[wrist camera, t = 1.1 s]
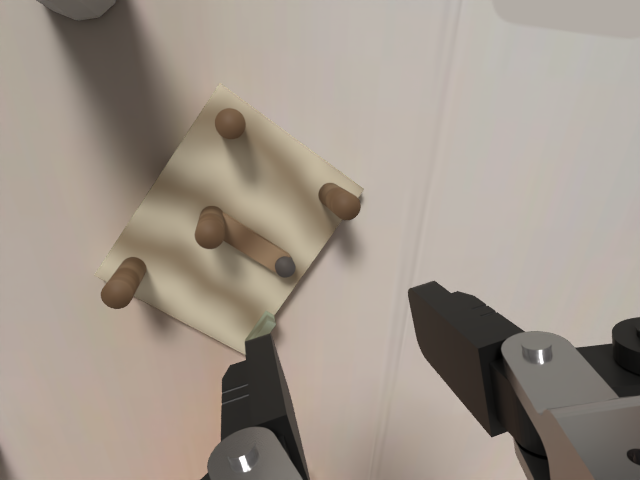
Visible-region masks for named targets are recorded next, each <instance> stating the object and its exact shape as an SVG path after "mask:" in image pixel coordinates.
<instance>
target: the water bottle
mask: <svg viewBox="0 0 640 480" xmlns="http://www.w3.org/2000/svg"><path fill="white" fill-rule="evenodd" d="M37 1H38V2H40V3H41V4H43V5H44V6H46V7H48V8H49V9H51V10H52V11H54V12H56V13H59V14H62V15H64V16H67V17H69V18H72V19H74V20H77V21H78V20H85V19H92V18H99V17H100V16H101V15H103V14H104V13H105V12H106V11H107V10H108V9H109V8H110V7H111V6H113V5H114V4H115V1H116V0H37Z"/></svg>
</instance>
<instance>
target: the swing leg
mask: <svg viewBox="0 0 640 480" xmlns="http://www.w3.org/2000/svg"><path fill="white" fill-rule="evenodd" d="M195 240H196V242H197V243H198V245H200V246H201V247H203V248H205V249H214V248H217V247H218V246H220V245H221V244H222V242H223V241H225V242H226V243H228V244H230V245H231V246H233V247H234V248H236V249H238V250H239V251H241V252H243V253H244V254H246V255H248V256H249V257H251V258H252V259H254V260H256V261H257V262H259V263H261V264H262V265H264V266H266V267H267V268H269V269H270V270H272V271H274V272H275V273H277V274H278V275H279V276H281V277H283V278H287V277H290V276H292V275H293V274H294V272H295V269H296V266H295V263H294V261H293V259H292V257H291V256H290V254H289V253H288V252H286V251H284V250H283V249H281V248H280V247H278V246H277V245H275V244H273V243H272V242H270V241H269V240H267V239H266V238H264V237H262V236H261V235H259V234H258V233H256V232H254V231H253V230H251V229H250V228H248V227H247V226H245V225H243V224H242V223H240V222H239V221H237V220H236V219H234V218H232V217H231V216H229V215H228V214H226V213H224V212H223V211H222V210H221V209H220V208H218V207H216V206H208V207H206V208H204V209H203V210H202V211H201V213H200V216H199V220H198V223H197V227H196V230H195Z"/></svg>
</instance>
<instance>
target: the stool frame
mask: <svg viewBox="0 0 640 480" xmlns="http://www.w3.org/2000/svg"><path fill="white" fill-rule="evenodd" d="M363 190H364V189H363V188H362V187H360V186H359V185H358V184H356V183H355V182H354V181H352V180H351V179H350V178H348V177H347V176H346V175H344V174H343V173H341V172H340V171H339V170H337V169H336V168H335V167H333V166H332V165H331V164H329V163H328V162H327V161H325V160H324V159H322V158H321V157H320V156H318V155H317V154H316V153H314V152H313V151H312V150H310V149H309V148H308V147H306V146H305V145H303V144H302V143H301V142H299V141H298V140H297V139H295V138H294V137H293V136H291V135H290V134H288V133H287V132H286V131H284V130H283V129H282V128H280V127H279V126H278V125H276V124H275V123H274V122H272V121H271V120H269V119H268V118H267V117H265V116H264V115H263V114H261V113H260V112H259V111H257V110H256V109H255V108H253V107H252V106H250V105H249V104H248V103H246V102H245V101H244V100H242V99H241V98H240V97H238V96H237V95H235V94H234V93H233V92H231V91H230V90H229V89H227V88H226V87H225V86H223V85H222V84H221V83H219V85H218V87H217V88H216V90H215V91H214V93H213V94H212V96H211V97H210V99H209V100H208V102H207V103H206V105H205V106H204V108H203V109H202V111H201V113H200V114H199V116H198V117H197V119H196V120H195V122H194V123H193V125H192V126H191V128H190V129H189V131H188V132H187V134H186V135H185V137H184V139H183V140H182V142H181V143H180V145H179V146H178V148H177V149H176V151H175V152H174V154H173V155H172V157H171V158H170V160H169V161H168V163H167V165H166V166H165V168H164V169H163V171H162V172H161V174H160V175H159V177H158V178H157V180H156V181H155V183H154V184H153V186H152V187H151V189H150V191H149V192H148V194H147V195H146V197H145V198H144V200H143V201H142V203H141V204H140V206H139V207H138V209H137V210H136V212H135V213H134V215H133V216H132V218H131V220H130V221H129V223H128V224H127V226H126V227H125V229H124V230H123V232H122V233H121V235H120V236H119V238H118V239H117V241H116V242H115V244H114V246H113V247H112V249H111V250H110V252H109V253H108V255H107V256H106V258H105V259H104V261H103V262H102V264H101V265H100V267H99V268H98V270H97V272H96V273H95V275H94V276H96V277H98V278H100V279H102V280H104V281H105V282H107V283H106V285H105V286H104V288H103V289H102V291H101V298H102V301H103V302H104V303H105V304H106V305H107V306H108V307H110V308H114V309H120V308H123V307H125V306H127V305H128V304H129V303H130V301H131V300H132V298H133V296H134V297H136V298H138V299H140V300H142V301H143V302H145V303H147V304H149V305H151V306H153V307H155V308H157V309H159V310H161V311H162V312H164V313H166V314H168V315H170V316H172V317H174V318H176V319H178V320H180V321H181V322H183V323H185V324H187V325H189V326H191V327H193V328H195V329H197V330H199V331H200V332H202V333H204V334H206V335H208V336H210V337H212V338H214V339H216V340H218V341H219V342H221V343H223V344H225V345H227V346H229V347H231V348H233V349H235V350H237V351H238V352H240V353H242V354H244V355H246V353H245V341H247V340H250V339H254V338H257V337H260V336H263V335H266V334H269V333H270V332H271V331H272V329H273V328H274V327H275V325H276V322H275V318H274V315H275V314H276V312H277V311H278V310H279V308H280V307H281V305H282V304H283V303H284V301H285V300H286V298H287V297H288V296H289V294H290V293H291V291H292V290H293V288H294V287H295V286H296V284H297V283H298V281H299V280H300V279H301V277H302V276H303V274H304V273H305V272H306V270H307V269H308V267H309V266H310V265H311V263H312V262H313V260H314V259H315V258H316V256H317V255H318V253H319V252H320V250H321V249H322V248H323V246H324V245H325V243H326V242H327V241H328V239H329V238H330V236H331V235H332V234H333V232H334V231H335V229H336V228H337V227H338V225H339V224H340V222H341V221H342V220H351V219H353V218H355V217H356V216H357V215H358V213H359V211H360V208H361V205H360V201H359V199H358V197H359V196H360V194H361V193H362V191H363ZM208 206H216V207H218V208H220V209H221V210H222V211H223V212H224V213H226V214H228V215H229V216H231V217H232V218H234V219H236V220H237V221H239V222H240V223H242V224H243V225H245V226H247V227H248V228H250V229H251V230H253V231H254V232H256V233H258V234H259V235H261V236H262V237H264V238H266V239H267V240H269V241H270V242H272V243H273V244H275V245H277V246H278V247H280V248H281V249H283V250H284V251H286V252H288V253H289V254H290V256H291V257H292V259H293V261H294V263H295V266H296V269H295V272H294V274H293V275H292V276H290V277H287V278H283V277H281V276H279V275H278V274H277V273H275V272H274V271H272V270H270V269H269V268H267V267H266V266H264V265H262V264H261V263H259V262H257V261H256V260H254V259H252V258H251V257H249V256H248V255H246V254H244V253H243V252H241V251H239V250H238V249H236V248H234V247H233V246H231V245H230V244H228V243H226V242H225V241H223V242H222V244H221V245H220V246H218V247H217V248H214V249H205V248H203V247H201V246H200V245H198V243H197V242H196V240H195V230H196V227H197V223H198V220H199V216H200V213H201V211H202V210H203V209H204V208H206V207H208Z"/></svg>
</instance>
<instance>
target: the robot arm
mask: <svg viewBox="0 0 640 480" xmlns="http://www.w3.org/2000/svg"><path fill="white" fill-rule="evenodd" d="M408 297H409V303H410V308H411V313H412V318H413V323H414V328H415V333H416V337H417V341H418V344H419V347H420V349H421V351H422V353H423V355H424V357H425V358H426V360H427V361H428V362H429V363H430V365H431V366H432V367H433V368H434V369H435V370H436V372H437V373H438V374H439V375H440V376H441V378H442V379H443V380H444V381H445V382H446V384H447V385H448V386H449V387H450V388H451V390H452V391H453V392H454V393H455V394H456V396H457V397H458V398H459V399H460V400H461V402H462V403H463V404H464V405H465V406H466V408H467V409H468V410H469V411H470V412H471V413H472V415H473V416H474V417H475V418H476V419H477V421H478V422H479V423H480V424H481V425H482V427H483V428H484V429H485V430H486V431H487V433H488V434H489V435H490V436H491V437H494V436H497V435H499V434H502V433H505V432H507V431H508V432H509V433H510V434H511V435H512V436H513V440H514V447H515V453H516V456H517V458H518V460H519V463H520V465H521V467H522V469H523V471H524V473H525V475H526V477H527V480H640V317H638V318H631V319H627V320H624V321H621V322H619V323H618V324H616V325H615V326H614V327H613V329H612V344H605V345H596V346H588V347H578V348H575V347H574V346H573V345H572V344H571V343H570V342H569V341H568V340H566V339H565V338H563V337H561V336H559V335H556V334H553V333H548V332H541V331H530V332H525V331H523V330H522V329H520V328H519V327H517V326H516V325H515V324H513V323H512V322H510V321H509V320H508V319H506V318H505V317H503V316H502V315H500V314H499V313H498V312H497V313H496V312H495V310H493V309H492V308H491V307H489V306H486V304H485V303H483V302H482V301H481V300H479V299H478V298H476V297H475V296H473V295H469V294H466V293H462V292H459V291H457V292H454V293H450V292H449V291H447V290H446V289H445V288H443V287H442V286H441V285H440V284H438V283H437V282H435V281H432V282H428V283H425V284H422V285H419V286H416V287H413V288H410V289H409V290H408ZM245 353H246V360H245V361H242V362H239V363H236V364H233V365H230V366H229V368H228V370H227V372H226V373H225V375H224V377H223V378H222V411H221V442H220V443H219V444H218V445H217V446H216V448H215V449H214V450H213V452H212V453H211V455H210V457H209V460H208V465H207V469H208V473H207V474H206V475H205V476H204V477H203V478H202V479H201V480H310V477H309V473H308V469H307V464H306V460H305V456H304V451H303V447H302V443H301V438H300V434H299V430H298V425H297V421H296V417H295V412H294V408H293V404H292V400H291V396H290V393H289V389H288V386H287V382H286V379H285V376H284V373H283V370H282V366H281V363H280V360H279V357H278V354H277V351H276V347H275V344H274V341H273V338H272V335H271V333H269V334H266V335H263V336H260V337H257V338H254V339H250V340H247V341H245Z"/></svg>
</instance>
